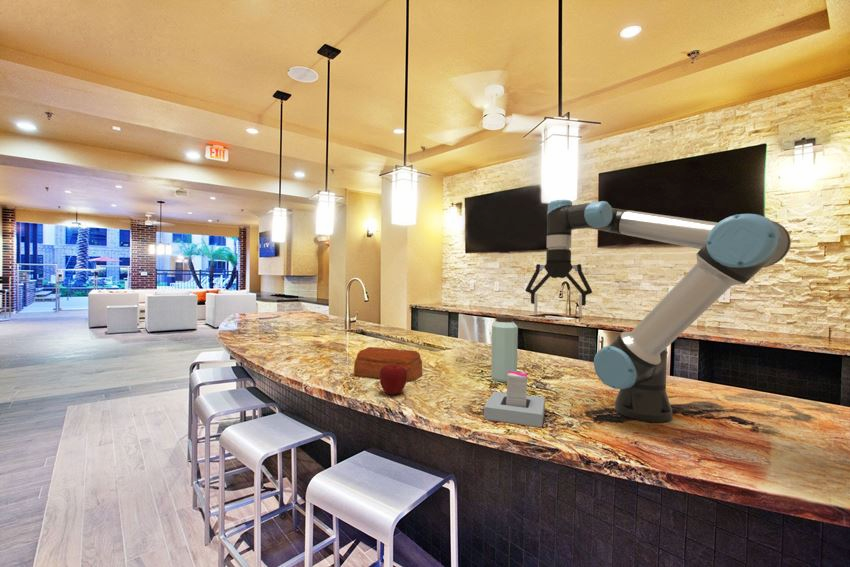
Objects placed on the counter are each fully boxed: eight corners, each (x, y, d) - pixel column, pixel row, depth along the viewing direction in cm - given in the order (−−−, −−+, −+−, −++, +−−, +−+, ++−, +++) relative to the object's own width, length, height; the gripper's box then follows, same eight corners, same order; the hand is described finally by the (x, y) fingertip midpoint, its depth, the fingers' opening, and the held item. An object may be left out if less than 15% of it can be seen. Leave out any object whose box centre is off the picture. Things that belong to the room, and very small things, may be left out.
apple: (400, 399, 127) (401, 368, 127) (374, 395, 131) (374, 366, 130) (410, 391, 136) (411, 362, 136) (386, 388, 139) (386, 360, 139)
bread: (411, 383, 146) (411, 356, 146) (349, 376, 155) (350, 350, 155) (425, 374, 161) (425, 348, 161) (368, 368, 170) (368, 344, 170)
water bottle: (522, 380, 152) (523, 317, 151) (504, 384, 146) (505, 318, 146) (503, 375, 160) (504, 315, 160) (485, 378, 154) (486, 316, 154)
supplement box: (526, 416, 112) (527, 376, 111) (505, 413, 113) (506, 375, 113) (526, 409, 117) (527, 371, 117) (506, 407, 119) (507, 370, 119)
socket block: (544, 408, 120) (545, 397, 120) (541, 427, 105) (542, 414, 105) (493, 402, 126) (493, 391, 125) (483, 419, 111) (483, 406, 110)
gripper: (600, 249, 124) (598, 315, 124) (520, 250, 132) (519, 312, 133) (602, 247, 117) (600, 317, 117) (517, 248, 125) (516, 314, 126)
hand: (557, 315), depth 125 cm, fingers open, 13 cm apart
